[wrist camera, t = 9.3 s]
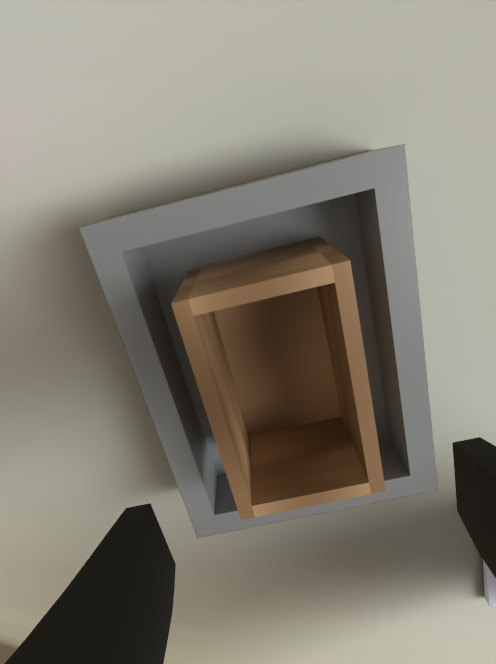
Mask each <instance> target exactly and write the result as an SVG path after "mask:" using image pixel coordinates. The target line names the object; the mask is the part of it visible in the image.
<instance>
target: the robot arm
mask: <svg viewBox="0 0 496 664" xmlns="http://www.w3.org/2000/svg"><path fill="white" fill-rule="evenodd" d="M453 455H454V469H455V483H456V497H457V511H458V513H459V515H460V517H461V519H462V521H463V523H464V525H465V527H466V529H467V531H468V533H469V535H470V537H471V538H472V540H473V542H474V544H475V546H476V548H477V550H478V552H479V553H480V555H481V557H482V558H483V570H484V590H485V599H486V601H487V603H488V605H489V606H491V607H494V608H496V446H494V445H492V444H491V443H489V442H487V441H485V440H484V439H482V438H480V437H479V438H474V439H469V440H464V441H459V442H454V443H453ZM174 582H175V562H174V560H173V557H172V555H171V552H170V550H169V548H168V545H167V543H166V540H165V538H164V535H163V533H162V531H161V528H160V526H159V523H158V521H157V518H156V516H155V514H154V511H153V509H152V506H151V504H145V505H140V506H135V507H130V508H126V509H125V511H124V512H123V513H122V514H121V516H120V517H119V518H118V520H117V521H116V522H115V524H114V525H113V526H112V528H111V529H110V531H109V532H108V533H107V535H106V536H105V537H104V539H103V540H102V541H101V543H100V544H99V546H98V547H97V548H96V550H95V551H94V552H93V554H92V555H91V556H90V558H89V559H88V560H87V562H86V563H85V564H84V566H83V567H82V568H81V570H80V571H79V572H78V574H77V575H76V576H75V578H74V579H73V580H72V582H71V583H70V584H69V586H68V587H67V588H66V590H65V591H64V592H63V594H62V595H61V596H60V597H59V599H58V600H57V601H56V602H55V603H54V605H53V606H52V607H51V608H50V610H49V611H48V612H47V613H46V615H45V616H44V617H43V618H42V620H41V621H40V622H39V623H38V624H37V626H36V627H35V628H34V629H33V631H32V632H31V633H30V634H29V636H28V637H27V638H26V639H25V641H24V642H23V643H22V644H21V645H20V646H19V648H18V649H17V650H16V651H15V652H14V653H13V655H12V656H11V657H10V658H9V659H8V660H7V661H6V663H5V664H163V662H164V657H165V651H166V645H167V640H168V634H169V628H170V622H171V616H172V609H173V597H174Z"/></svg>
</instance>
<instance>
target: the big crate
mask: <svg viewBox="0 0 496 664" xmlns="http://www.w3.org/2000/svg"><path fill="white" fill-rule="evenodd" d="M79 229H80V232H81V235H82V237H83V240H84V242H85V245H86V248H87V250H88V253H89V255H90V258H91V261H92V263H93V266H94V269H95V271H96V274H97V276H98V279H99V282H100V284H101V287H102V289H103V292H104V295H105V297H106V300H107V303H108V305H109V308H110V310H111V313H112V316H113V318H114V321H115V324H116V326H117V329H118V331H119V334H120V337H121V339H122V342H123V344H124V347H125V350H126V352H127V355H128V358H129V360H130V363H131V365H132V368H133V371H134V373H135V376H136V378H137V381H138V384H139V386H140V389H141V392H142V394H143V397H144V399H145V402H146V405H147V407H148V410H149V412H150V415H151V418H152V420H153V423H154V426H155V428H156V431H157V433H158V436H159V439H160V441H161V444H162V447H163V449H164V452H165V454H166V457H167V460H168V462H169V465H170V467H171V470H172V473H173V475H174V478H175V481H176V483H177V486H178V488H179V491H180V494H181V496H182V499H183V501H184V504H185V507H186V509H187V512H188V515H189V517H190V520H191V522H192V525H193V528H194V530H195V533H196V535H197V538H199V537H204V536H209V535H214V534H219V533H224V532H229V531H234V530H240V529H245V528H250V527H255V526H260V525H265V524H270V523H275V522H280V521H285V520H290V519H295V518H300V517H305V516H310V515H315V514H320V513H325V512H330V511H335V510H340V509H346V508H351V507H356V506H361V505H366V504H371V503H376V502H381V501H386V500H391V499H396V498H401V497H406V496H411V495H416V494H421V493H426V492H431V491H436V490H438V487H437V477H436V467H435V456H434V446H433V435H432V425H431V415H430V404H429V394H428V383H427V373H426V363H425V352H424V342H423V331H422V321H421V311H420V300H419V290H418V279H417V269H416V259H415V248H414V238H413V227H412V217H411V207H410V196H409V186H408V175H407V165H406V155H405V144H402V145H397V146H392V147H386V148H381V149H376V150H371V151H368V152H364V153H360V154H356V155H352V156H348V157H344V158H340V159H337V160H333V161H329V162H325V163H321V164H317V165H313V166H310V167H306V168H302V169H298V170H294V171H290V172H286V173H283V174H279V175H275V176H271V177H267V178H263V179H259V180H255V181H252V182H248V183H244V184H240V185H236V186H232V187H228V188H225V189H221V190H217V191H213V192H209V193H205V194H201V195H198V196H194V197H190V198H186V199H182V200H178V201H174V202H171V203H167V204H163V205H159V206H155V207H151V208H147V209H143V210H140V211H136V212H132V213H128V214H124V215H120V216H116V217H113V218H109V219H106V220H103V221H100V222H96V223H93V224H90V225H87V226H84V227H81V228H79ZM317 237H321V238H322V239H324V240H325V241H326V242H328V243H329V244H330V245H331V246H333V247H334V248H335V249H336V250H338V251H339V252H340V253H342V254H343V255H344V256H345V257H347V258H348V259H349V260H350V261H351V268H352V274H353V281H354V287H355V294H356V300H357V307H358V313H359V320H360V326H361V333H362V339H363V346H364V353H365V359H366V366H367V372H368V379H369V385H370V392H371V398H372V405H373V411H374V418H375V424H376V431H377V437H378V444H379V450H380V457H381V463H382V470H383V476H384V483H385V489H386V491H384V492H379V493H374V494H369V495H364V496H359V497H354V498H349V499H344V500H339V501H334V502H329V503H324V504H319V505H314V506H309V507H304V508H299V509H294V510H289V511H284V512H279V513H274V514H269V515H264V516H259V517H254V518H249V519H244V520H241V518H240V515H239V512H238V509H237V506H236V503H235V500H234V497H233V494H232V491H231V487H230V484H229V481H228V478H227V475H226V472H225V469H224V466H223V463H222V460H221V457H220V453H219V450H218V447H217V444H216V441H215V438H214V435H213V432H212V429H211V426H210V423H209V420H208V416H207V413H206V410H205V407H204V404H203V401H202V398H201V395H200V392H199V389H198V386H197V382H196V379H195V376H194V373H193V370H192V367H191V364H190V361H189V358H188V355H187V352H186V348H185V345H184V342H183V339H182V336H181V333H180V330H179V327H178V324H177V321H176V318H175V315H174V311H173V308H172V305H171V302H172V301H173V299H174V297H175V295H176V293H177V291H178V290H179V288H180V286H181V284H182V282H183V280H184V279H185V277H186V275H187V273H188V271H189V270H190V269H191V268H195V267H199V266H203V265H207V264H211V263H215V262H219V261H223V260H227V259H231V258H236V257H240V256H244V255H248V254H252V253H256V252H260V251H264V250H268V249H272V248H276V247H280V246H284V245H288V244H293V243H297V242H301V241H305V240H309V239H313V238H317Z"/></svg>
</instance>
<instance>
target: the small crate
mask: <svg viewBox="0 0 496 664" xmlns="http://www.w3.org/2000/svg"><path fill="white" fill-rule="evenodd" d="M171 305H172V308H173V311H174V315H175V318H176V321H177V324H178V327H179V330H180V333H181V336H182V339H183V342H184V345H185V348H186V352H187V355H188V358H189V361H190V364H191V367H192V370H193V373H194V376H195V379H196V382H197V386H198V389H199V392H200V395H201V398H202V401H203V404H204V407H205V410H206V413H207V416H208V420H209V423H210V426H211V429H212V432H213V435H214V438H215V441H216V444H217V447H218V450H219V453H220V457H221V460H222V463H223V466H224V469H225V472H226V475H227V478H228V481H229V484H230V487H231V491H232V494H233V497H234V500H235V503H236V506H237V509H238V512H239V515H240V518H241V520H244V519H249V518H254V517H259V516H264V515H269V514H274V513H279V512H284V511H289V510H294V509H299V508H304V507H309V506H314V505H319V504H324V503H329V502H334V501H339V500H344V499H349V498H354V497H359V496H364V495H369V494H374V493H379V492H384V491H386V489H385V483H384V476H383V470H382V463H381V457H380V450H379V444H378V437H377V431H376V424H375V418H374V411H373V405H372V398H371V392H370V385H369V379H368V372H367V366H366V359H365V353H364V346H363V339H362V333H361V326H360V320H359V313H358V307H357V300H356V294H355V287H354V281H353V274H352V268H351V261H350V260H349V259H348V258H347V257H345V256H344V255H343V254H342V253H340V252H339V251H338V250H336V249H335V248H334V247H333V246H331V245H330V244H329V243H328V242H326V241H325V240H324V239H322V238H321V237H317V238H313V239H309V240H305V241H301V242H297V243H293V244H288V245H284V246H280V247H276V248H272V249H268V250H264V251H260V252H256V253H252V254H248V255H244V256H240V257H236V258H231V259H227V260H223V261H219V262H215V263H211V264H207V265H203V266H199V267H195V268H191V269H190V270H189V271H188V273H187V275H186V277H185V279H184V280H183V282H182V284H181V286H180V288H179V290H178V291H177V293H176V295H175V297H174V299H173V301H172V302H171Z"/></svg>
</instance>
